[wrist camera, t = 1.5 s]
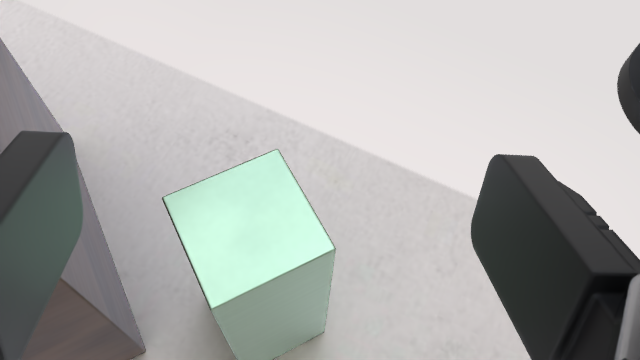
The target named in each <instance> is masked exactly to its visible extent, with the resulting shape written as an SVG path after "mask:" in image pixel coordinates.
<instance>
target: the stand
mask: <svg viewBox="0 0 640 360" xmlns="http://www.w3.org/2000/svg"><path fill="white" fill-rule="evenodd" d="M24 130H25V131H46V132H63V130H62V129H61V127H60V126H59V124H58V123H57V121H56V120H55V118H54V117H53V115H52V114H51V112H50V111H49V109H48V108H47V106H46V105H45V103H44V102H43V101H42V99H41V98H40V96H39V95H38V93H37V92H36V90H35V89H34V87H33V86H32V84H31V83H30V81H29V80H28V78H27V77H26V75H25V74H24V72H23V71H22V69H21V68H20V66H19V65H18V64H17V62H16V61H15V59H14V58H13V56H12V55H11V53H10V52H9V50H8V49H7V47H6V46H5V44H4V43H3V41H2V40H1V38H0V154H1V153H2V152H3V151H4V150H5V148H6V147H7V146H8V145H9V144H10V143H11V142H12V140H13V139H14V138H15V137H16V136H17V135H18V134H19V133H20V132H21V131H24ZM76 162H77V160H76ZM77 169H78V176H79V182H80V189H81V195H82V202H83V225H82V230H81V234H80V237H79V239H78V241H77V243H76V245H75V248H74V250H73V252H72V254H71V256H70V258H69V260H68V262H67V264H66V266H65V268H64V270H63V273H62V275H61V277H60V279H59V281H58V283H57V285H56V287H55V289H54V291H53V293H52V295H51V298H50V300H49V302H48V304H47V306H46V308H45V310H44V312H43V314H42V316H41V318H40V320H39V322H38V325H37V327H36V329H35V331H34V333H33V335H32V337H31V339H30V341H29V343H28V345H27V347H26V350H25V352H24V354H23V356H22V358H21V360H130V359H132V358H134V357H136V356H138V355H140V354H142V353H144V352H145V347H144V344H143V342H142V339H141V336H140V333H139V331H138V328H137V325H136V322H135V320H134V317H133V314H132V311H131V309H130V306H129V303H128V300H127V298H126V295H125V292H124V289H123V287H122V284H121V281H120V278H119V276H118V273H117V270H116V267H115V265H114V262H113V259H112V256H111V254H110V251H109V248H108V245H107V243H106V240H105V237H104V234H103V232H102V229H101V226H100V223H99V221H98V218H97V215H96V212H95V210H94V207H93V204H92V201H91V199H90V196H89V193H88V190H87V188H86V185H85V182H84V179H83V177H82V174H81V171H80V168H79V166H78V163H77Z"/></svg>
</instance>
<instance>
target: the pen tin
mask: <svg viewBox="0 0 640 360" xmlns="http://www.w3.org/2000/svg"><path fill="white" fill-rule="evenodd" d="M162 200H163V202H164V204H165V207H166V209H167V211H168V214H169V216H170V218H171V220H172V223H173V225H174V227H175V230H176V232H177V234H178V237H179V239H180V241H181V243H182V246H183V248H184V250H185V253H186V255H187V257H188V260H189V262H190V264H191V266H192V269H193V271H194V273H195V276H196V278H197V280H198V283H199V285H200V287H201V289H202V292H203V294H204V296H205V299H206V301H207V303H208V305H209V308H210V310H211V312H212V314H213V316H214V318H215V319H216V321H217V323H218V325H219V327H220V329H221V331H222V333H223V335H224V337H225V339H226V340H227V342H228V344H229V346H230V348H231V350H232V352H233V354H234V356H235V358H236V359H237V360H273V359H275V358H276V357H278V356H280V355H282V354H284V353H286V352H288V351H290V350H292V349H293V348H295V347H297V346H299V345H301V344H303V343H305V342H307V341H309V340H310V339H312V338H314V337H316V336H318V335H320V334H322V333H324V330H325V323H326V316H327V309H328V301H329V294H330V287H331V280H332V273H333V266H334V258H335V251H336V248H335V246H334V244H333V243H332V241H331V239H330V238H329V236H328V234H327V232H326V231H325V229H324V227H323V225H322V224H321V222H320V220H319V219H318V217H317V215H316V213H315V212H314V210H313V208H312V206H311V205H310V203H309V201H308V200H307V198H306V196H305V194H304V193H303V191H302V189H301V187H300V186H299V184H298V182H297V181H296V179H295V177H294V175H293V174H292V172H291V170H290V168H289V167H288V165H287V163H286V162H285V160H284V158H283V156H282V155H281V153H280V151H279V150H278V149H276V150H273V151H271V152H268V153H266V154H264V155H261V156H259V157H257V158H254V159H252V160H249V161H247V162H245V163H242V164H240V165H238V166H235V167H233V168H230V169H228V170H226V171H223V172H221V173H219V174H216V175H214V176H211V177H209V178H207V179H204V180H202V181H200V182H197V183H195V184H192V185H190V186H188V187H185V188H183V189H181V190H178V191H176V192H173V193H171V194H169V195H166V196H164V197H162Z"/></svg>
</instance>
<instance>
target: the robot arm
mask: <svg viewBox="0 0 640 360" xmlns="http://www.w3.org/2000/svg"><path fill="white" fill-rule="evenodd" d="M82 225H83V202H82V195H81V189H80V182H79V176H78V169H77V162H76V156H75V149H74V144H73V140H72V138H71V136H70V135H69V134H68V133H67V132H46V131H25V130H24V131H21V132H20V133H19V134H18V135H17V136H16V137H15V138H14V139H13V140H12V142H11V143H10V144H9V145H8V146H7V147H6V148H5V150H4V151H3V152H2V153H1V154H0V360H21V358H22V356H23V354H24V352H25V350H26V347H27V345H28V343H29V341H30V339H31V337H32V335H33V333H34V331H35V329H36V327H37V325H38V322H39V320H40V318H41V316H42V314H43V312H44V310H45V308H46V306H47V304H48V302H49V300H50V298H51V295H52V293H53V291H54V289H55V287H56V285H57V283H58V281H59V279H60V277H61V275H62V273H63V270H64V268H65V266H66V264H67V262H68V260H69V258H70V256H71V254H72V252H73V250H74V248H75V245H76V243H77V241H78V239H79V237H80V234H81V230H82ZM471 239H472V244H473V247H474V250H475V252H476V254H477V256H478V258H479V259H480V261H481V263H482V265H483V267H484V269H485V271H486V273H487V275H488V277H489V279H490V281H491V283H492V284H493V286H494V288H495V290H496V292H497V294H498V296H499V298H500V300H501V302H502V304H503V306H504V308H505V309H506V311H507V313H508V315H509V317H510V319H511V321H512V323H513V325H514V327H515V329H516V331H517V333H518V334H519V336H520V338H521V340H522V342H523V344H524V346H525V348H526V350H527V352H528V354H529V356H530V358H531V359H532V360H640V260H639V259H638V258H637V256H636V255H635V254H634V253H633V252H632V251H631V250H630V249H629V248H628V246H627V245H626V244H625V243H624V242H623V241H622V240H621V239H620V238H619V237H618V235H617V234H616V233H615V232H614V231H613V230H609V226H608V224H607V223H606V222H605V221H604V220H603V219H602V218H601V217H600V216H597V215H596V211H595V210H594V209H593V208H592V207H591V206H590V205H589V204H588V203H587V201H586V200H585V199H584V198H583V197H582V196H581V195H579V194H578V193H576V192H575V191H573V190H571V189H570V188H568V187H567V186H565V185H564V184H562V183H561V182H559V181H557V180H556V179H555V178H554V177H553V175H552V174H551V173H550V172H549V171H548V170H547V169H546V167H545V166H544V165H543V164H542V163H541V162H540V161H539V159H537V158H536V157H534V156H522V155H521V156H520V155H500V154H498V155H495V156H494V157H493V158H492V159H491V161H490V163H489V165H488V168H487V171H486V175H485V178H484V182H483V185H482V188H481V191H480V195H479V198H478V201H477V205H476V208H475V211H474V215H473V218H472V223H471Z"/></svg>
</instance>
